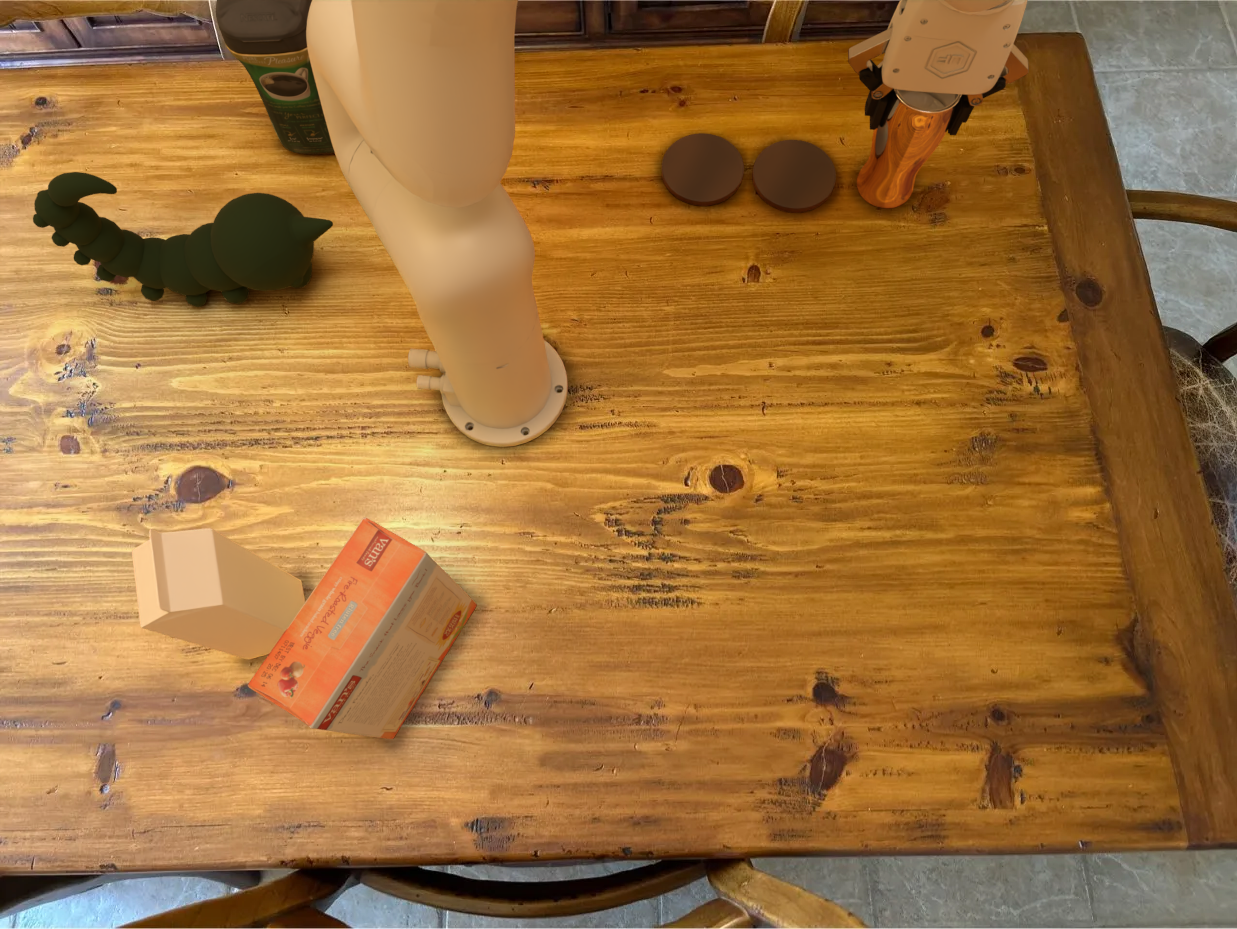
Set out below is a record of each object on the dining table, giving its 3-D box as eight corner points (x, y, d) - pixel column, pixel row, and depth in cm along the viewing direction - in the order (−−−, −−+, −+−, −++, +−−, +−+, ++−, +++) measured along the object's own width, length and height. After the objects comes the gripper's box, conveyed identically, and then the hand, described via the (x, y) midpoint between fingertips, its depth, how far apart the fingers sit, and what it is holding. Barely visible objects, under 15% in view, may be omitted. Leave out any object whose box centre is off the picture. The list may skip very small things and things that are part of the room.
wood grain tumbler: (913, 217, 95) (963, 119, 81) (848, 206, 96) (886, 107, 82) (919, 164, 97) (968, 60, 83) (855, 154, 98) (894, 49, 84)
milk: (248, 660, 81) (112, 623, 60) (238, 597, 82) (103, 539, 62) (314, 641, 81) (202, 597, 60) (303, 578, 83) (190, 515, 62)
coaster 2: (750, 209, 96) (751, 205, 95) (754, 141, 99) (755, 136, 98) (833, 215, 95) (835, 211, 95) (835, 147, 98) (836, 142, 98)
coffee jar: (368, 99, 101) (313, -42, 84) (364, 156, 99) (306, 23, 81) (284, 102, 101) (211, -38, 84) (277, 159, 99) (201, 27, 81)
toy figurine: (134, 333, 94) (363, 308, 92) (-3, 231, 76) (278, 196, 74) (144, 256, 97) (366, 230, 95) (15, 141, 79) (285, 105, 77)
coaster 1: (658, 202, 96) (658, 198, 95) (664, 135, 99) (665, 130, 98) (741, 208, 96) (741, 204, 95) (745, 140, 99) (745, 135, 98)
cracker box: (426, 573, 83) (363, 510, 63) (480, 605, 82) (432, 552, 62) (337, 706, 79) (240, 684, 59) (393, 742, 78) (312, 731, 58)
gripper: (869, -7, 69) (822, 145, 86) (1094, 8, 69) (1003, 158, 86) (869, -77, 72) (824, 84, 89) (1086, -64, 71) (999, 96, 88)
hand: (912, 119), depth 87 cm, fingers closed on wood grain tumbler, 7 cm apart
